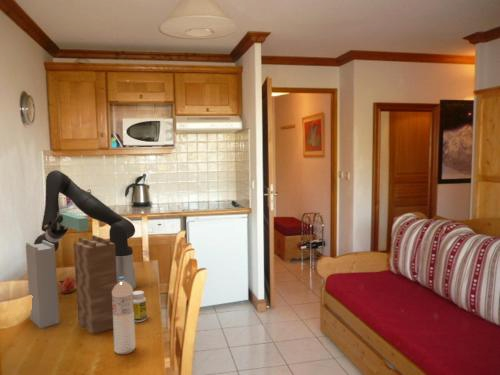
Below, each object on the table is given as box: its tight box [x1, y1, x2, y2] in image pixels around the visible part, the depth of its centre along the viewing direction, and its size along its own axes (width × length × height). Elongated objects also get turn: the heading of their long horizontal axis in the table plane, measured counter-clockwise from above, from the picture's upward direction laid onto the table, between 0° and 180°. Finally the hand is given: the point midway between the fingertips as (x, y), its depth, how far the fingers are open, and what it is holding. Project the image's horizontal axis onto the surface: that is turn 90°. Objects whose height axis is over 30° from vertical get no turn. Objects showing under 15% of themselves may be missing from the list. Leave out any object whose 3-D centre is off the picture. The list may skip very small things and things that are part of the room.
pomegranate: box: [58, 276, 76, 294], centre depth 197 cm, size 7×7×10 cm
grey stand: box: [25, 240, 60, 329], centre depth 162 cm, size 12×7×31 cm, turn 44°
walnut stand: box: [73, 235, 117, 335], centre depth 157 cm, size 14×10×34 cm
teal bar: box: [57, 211, 90, 233], centre depth 170 cm, size 24×4×5 cm, turn 44°
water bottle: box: [111, 276, 136, 355], centre depth 137 cm, size 7×7×25 cm
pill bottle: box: [133, 290, 148, 323], centre depth 162 cm, size 6×6×11 cm
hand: (67, 216), depth 174 cm, fingers closed on teal bar, 3 cm apart
